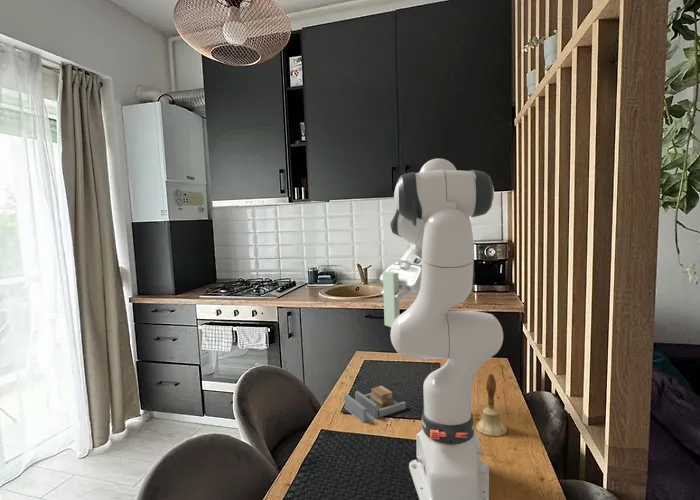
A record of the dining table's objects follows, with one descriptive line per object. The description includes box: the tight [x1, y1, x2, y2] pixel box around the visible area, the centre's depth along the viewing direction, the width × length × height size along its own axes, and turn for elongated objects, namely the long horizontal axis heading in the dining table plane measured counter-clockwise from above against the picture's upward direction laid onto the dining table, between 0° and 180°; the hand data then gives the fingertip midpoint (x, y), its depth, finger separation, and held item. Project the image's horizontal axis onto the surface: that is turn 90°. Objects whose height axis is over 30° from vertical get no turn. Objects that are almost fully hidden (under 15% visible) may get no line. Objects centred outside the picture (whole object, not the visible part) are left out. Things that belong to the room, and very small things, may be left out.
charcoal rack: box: [343, 390, 407, 424], centre depth 128 cm, size 16×12×5 cm
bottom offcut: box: [370, 395, 396, 409], centre depth 130 cm, size 5×7×2 cm
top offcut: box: [370, 385, 393, 403], centre depth 130 cm, size 4×6×2 cm, turn 29°
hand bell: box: [475, 373, 508, 437], centre depth 115 cm, size 8×8×16 cm
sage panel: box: [382, 270, 400, 328], centre depth 132 cm, size 2×6×18 cm, turn 29°
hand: (389, 297), depth 132 cm, fingers closed on sage panel, 6 cm apart
